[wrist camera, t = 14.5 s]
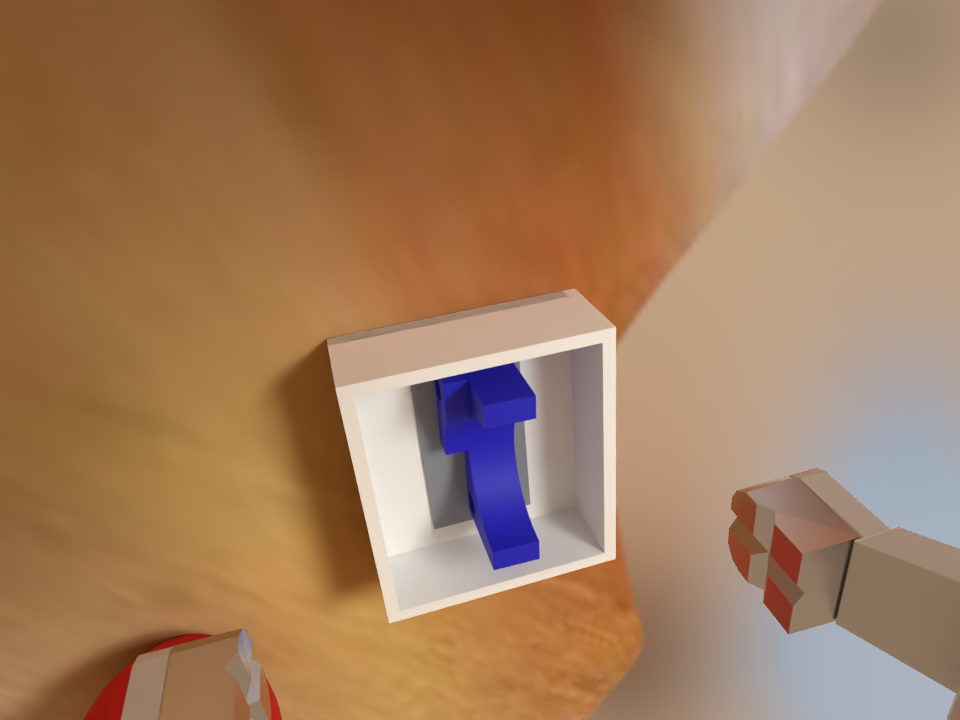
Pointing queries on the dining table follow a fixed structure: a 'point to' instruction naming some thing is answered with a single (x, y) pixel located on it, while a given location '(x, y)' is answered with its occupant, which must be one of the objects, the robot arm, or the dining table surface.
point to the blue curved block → (491, 455)
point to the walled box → (442, 478)
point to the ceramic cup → (111, 699)
